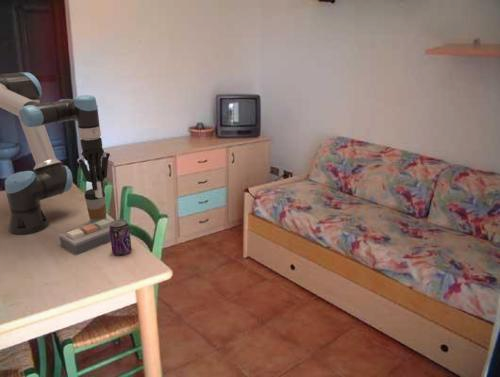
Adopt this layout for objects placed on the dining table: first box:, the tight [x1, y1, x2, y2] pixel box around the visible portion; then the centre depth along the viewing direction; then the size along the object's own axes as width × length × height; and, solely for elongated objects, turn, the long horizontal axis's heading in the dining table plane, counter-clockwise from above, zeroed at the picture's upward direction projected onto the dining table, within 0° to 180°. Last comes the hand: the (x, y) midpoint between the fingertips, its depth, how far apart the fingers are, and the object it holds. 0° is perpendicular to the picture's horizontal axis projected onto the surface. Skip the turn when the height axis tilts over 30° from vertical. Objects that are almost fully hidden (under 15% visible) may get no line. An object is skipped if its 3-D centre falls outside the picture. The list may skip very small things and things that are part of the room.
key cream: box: [66, 228, 84, 240], centre depth 169 cm, size 4×4×3 cm
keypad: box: [58, 220, 111, 256], centre depth 174 cm, size 12×19×5 cm, turn 138°
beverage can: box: [109, 218, 132, 256], centre depth 164 cm, size 7×7×12 cm
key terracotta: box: [80, 223, 98, 235], centre depth 173 cm, size 4×4×3 cm
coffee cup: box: [84, 188, 107, 224], centre depth 188 cm, size 8×8×15 cm
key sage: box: [95, 219, 111, 230], centre depth 177 cm, size 4×4×3 cm
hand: (99, 197), depth 173 cm, fingers closed
